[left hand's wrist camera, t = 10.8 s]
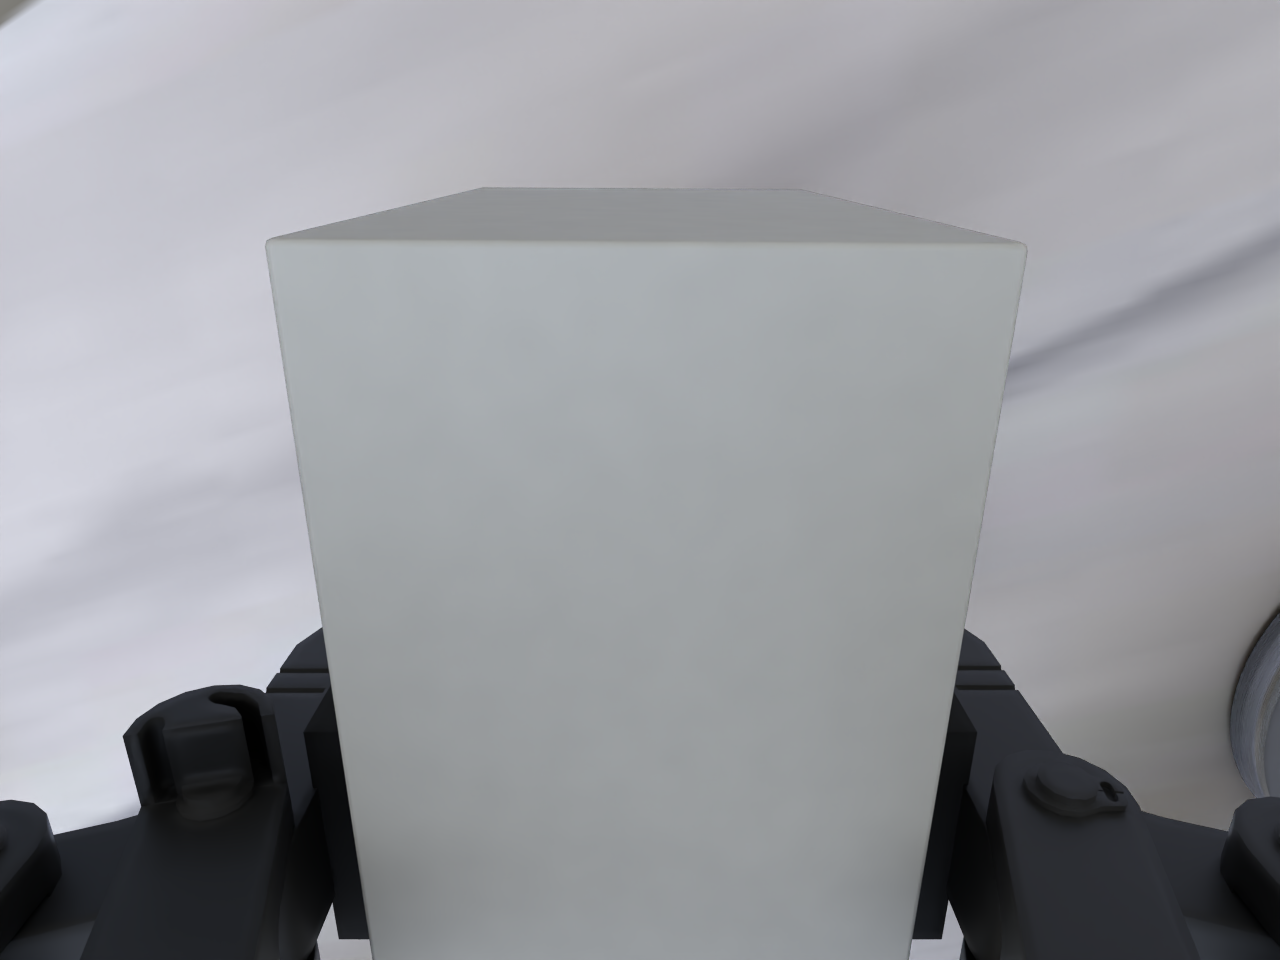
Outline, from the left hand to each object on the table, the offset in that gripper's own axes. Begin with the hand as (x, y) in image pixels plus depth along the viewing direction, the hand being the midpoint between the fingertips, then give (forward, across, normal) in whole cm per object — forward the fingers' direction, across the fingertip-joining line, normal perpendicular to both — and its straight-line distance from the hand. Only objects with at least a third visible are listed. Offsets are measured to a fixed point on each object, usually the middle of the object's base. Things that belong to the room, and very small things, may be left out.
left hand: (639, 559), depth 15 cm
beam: (+1, 0, -21) cm, 21 cm away
